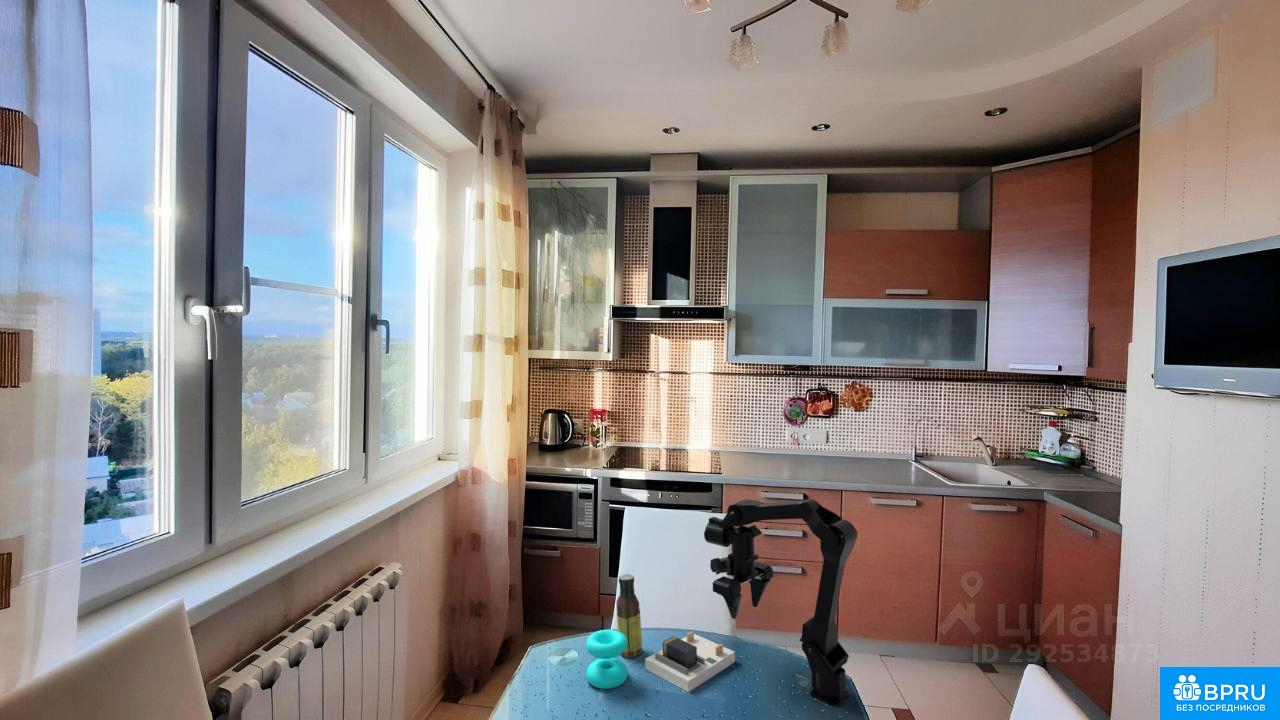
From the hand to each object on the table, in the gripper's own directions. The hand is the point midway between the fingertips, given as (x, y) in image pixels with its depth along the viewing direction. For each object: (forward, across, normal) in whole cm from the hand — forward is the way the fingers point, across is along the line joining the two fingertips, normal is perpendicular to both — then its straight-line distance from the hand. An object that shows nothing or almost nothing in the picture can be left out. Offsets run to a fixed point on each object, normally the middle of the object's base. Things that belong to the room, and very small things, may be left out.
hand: (744, 612), depth 136 cm
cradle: (+12, +12, -8) cm, 19 cm away
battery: (+9, +16, -8) cm, 20 cm away
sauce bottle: (+12, +18, -24) cm, 32 cm away
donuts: (+12, +30, -19) cm, 38 cm away
